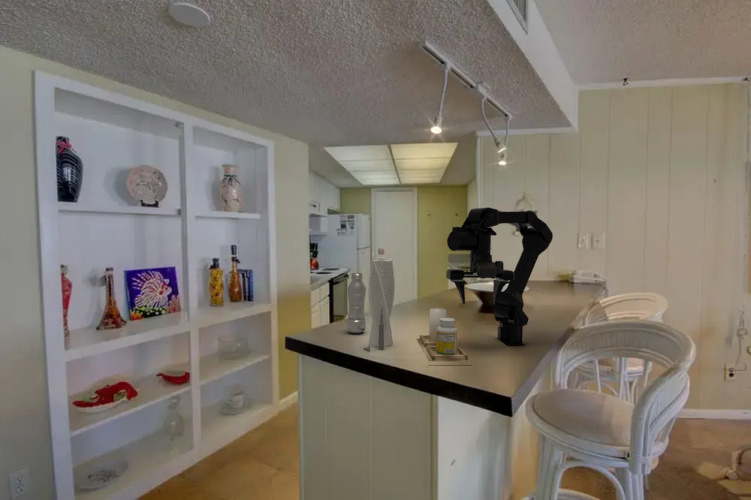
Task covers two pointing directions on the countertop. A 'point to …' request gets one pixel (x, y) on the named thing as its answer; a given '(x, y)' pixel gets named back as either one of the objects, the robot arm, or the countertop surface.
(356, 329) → the plastic bottle
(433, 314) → the white rounded rod
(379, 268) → the skyscraper
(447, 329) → the supplement bottle
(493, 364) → the countertop surface
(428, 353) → the caddy
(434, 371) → the countertop surface
